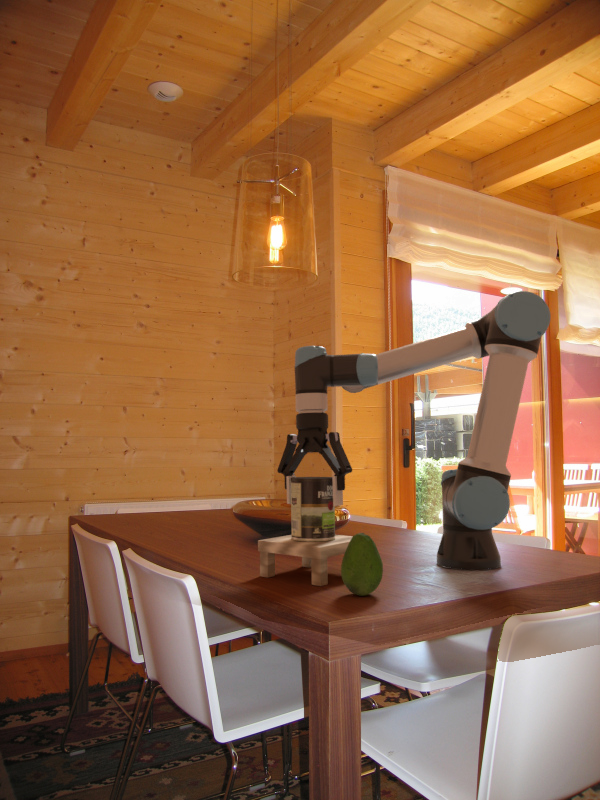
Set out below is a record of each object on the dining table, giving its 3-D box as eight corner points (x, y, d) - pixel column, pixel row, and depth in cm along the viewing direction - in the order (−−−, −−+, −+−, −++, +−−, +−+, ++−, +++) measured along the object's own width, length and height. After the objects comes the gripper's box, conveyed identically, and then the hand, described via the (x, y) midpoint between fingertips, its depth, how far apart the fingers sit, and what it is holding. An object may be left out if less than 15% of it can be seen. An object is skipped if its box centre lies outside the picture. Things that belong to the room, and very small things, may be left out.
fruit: (360, 588, 125) (359, 529, 126) (391, 594, 119) (389, 532, 120) (333, 594, 120) (332, 532, 121) (364, 601, 114) (362, 536, 115)
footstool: (368, 573, 141) (367, 537, 142) (320, 586, 127) (320, 547, 128) (307, 564, 152) (307, 532, 153) (258, 576, 139) (257, 540, 139)
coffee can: (344, 538, 142) (343, 476, 143) (318, 543, 133) (317, 478, 135) (308, 534, 148) (308, 476, 149) (281, 539, 140) (281, 477, 141)
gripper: (365, 409, 138) (368, 504, 136) (282, 416, 154) (284, 501, 152) (346, 408, 132) (349, 507, 130) (262, 415, 148) (263, 503, 146)
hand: (314, 504), depth 141 cm, fingers open, 13 cm apart
